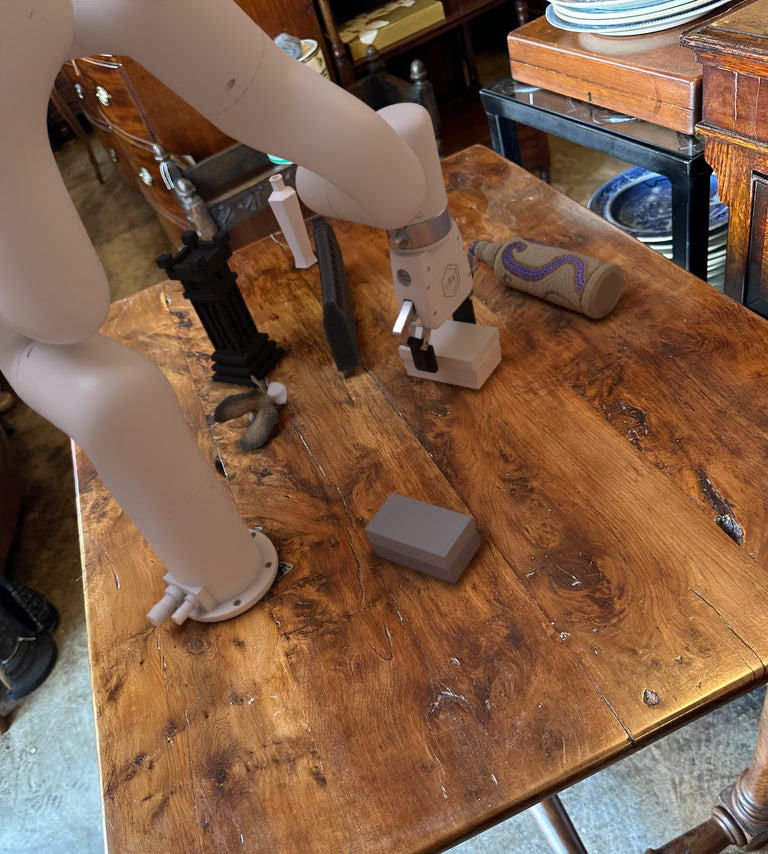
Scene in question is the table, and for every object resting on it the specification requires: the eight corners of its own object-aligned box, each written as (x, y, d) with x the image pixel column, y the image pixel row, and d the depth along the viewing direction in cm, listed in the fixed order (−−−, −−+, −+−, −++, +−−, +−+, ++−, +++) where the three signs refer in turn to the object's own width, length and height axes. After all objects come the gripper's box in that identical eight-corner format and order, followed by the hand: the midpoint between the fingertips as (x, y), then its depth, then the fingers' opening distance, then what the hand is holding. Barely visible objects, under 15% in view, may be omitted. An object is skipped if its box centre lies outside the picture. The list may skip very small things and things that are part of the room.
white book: (473, 372, 97) (471, 361, 96) (400, 358, 103) (397, 348, 102) (499, 337, 100) (498, 327, 99) (427, 326, 106) (425, 316, 105)
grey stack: (455, 584, 80) (446, 557, 77) (375, 555, 86) (363, 529, 83) (481, 544, 83) (474, 517, 80) (402, 518, 88) (392, 492, 85)
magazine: (346, 329, 100) (313, 171, 114) (322, 336, 100) (291, 178, 114) (375, 403, 115) (343, 255, 129) (354, 409, 116) (324, 261, 129)
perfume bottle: (289, 263, 135) (257, 179, 124) (312, 252, 136) (282, 168, 125) (298, 273, 132) (266, 188, 121) (321, 262, 132) (291, 176, 122)
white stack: (480, 390, 100) (476, 370, 97) (407, 375, 106) (401, 356, 103) (503, 359, 102) (499, 339, 100) (431, 346, 108) (426, 327, 106)
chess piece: (213, 381, 117) (150, 262, 103) (243, 347, 121) (186, 228, 107) (255, 387, 113) (196, 264, 99) (284, 352, 117) (231, 229, 103)
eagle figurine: (246, 395, 110) (206, 429, 104) (256, 358, 105) (215, 392, 99) (290, 425, 110) (253, 461, 104) (303, 390, 104) (264, 426, 98)
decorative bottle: (630, 299, 104) (627, 254, 99) (591, 330, 102) (587, 285, 97) (494, 250, 121) (486, 210, 116) (458, 276, 119) (449, 236, 114)
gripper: (405, 269, 83) (437, 394, 95) (483, 187, 91) (504, 312, 103) (349, 262, 87) (387, 383, 99) (429, 184, 95) (455, 305, 107)
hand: (446, 347), depth 101 cm, fingers open, 9 cm apart
